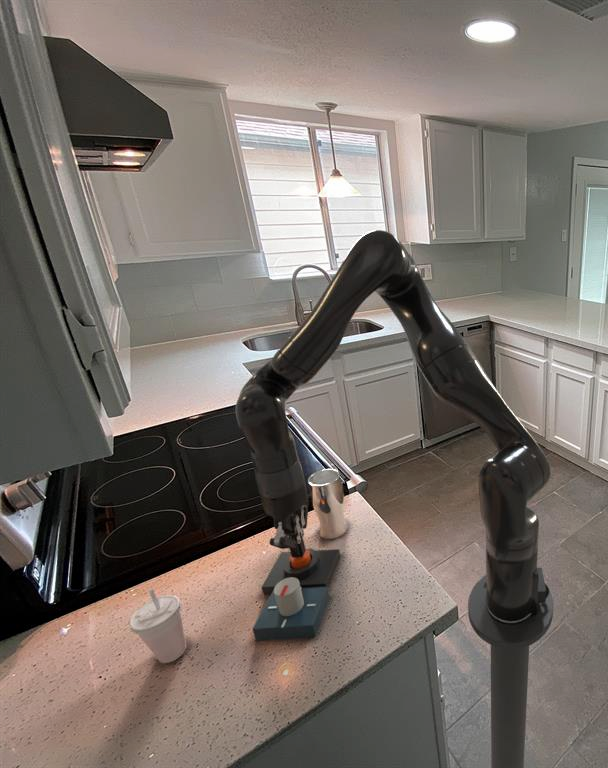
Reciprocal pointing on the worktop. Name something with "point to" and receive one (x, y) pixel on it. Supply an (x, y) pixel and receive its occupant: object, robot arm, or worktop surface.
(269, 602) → the knob panel
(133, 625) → the smoothie
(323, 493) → the silver metal cup
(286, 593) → the dial
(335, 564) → the orange push button panel
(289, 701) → the worktop surface
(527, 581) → the robot arm
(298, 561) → the button
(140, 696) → the worktop surface
